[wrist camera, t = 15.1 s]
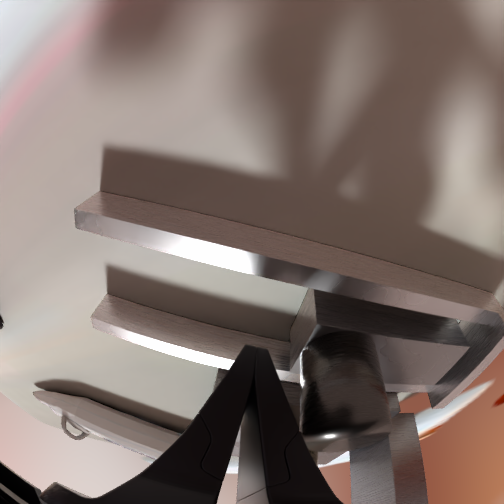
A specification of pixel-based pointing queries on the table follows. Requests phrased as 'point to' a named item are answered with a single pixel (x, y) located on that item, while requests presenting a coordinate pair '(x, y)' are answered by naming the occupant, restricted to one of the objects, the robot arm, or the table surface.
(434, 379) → the sliding block with knob
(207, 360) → the guide rail
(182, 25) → the table surface
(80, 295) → the table surface
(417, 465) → the press bed
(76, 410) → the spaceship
